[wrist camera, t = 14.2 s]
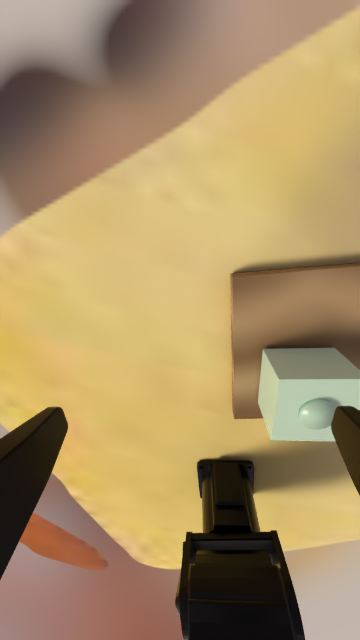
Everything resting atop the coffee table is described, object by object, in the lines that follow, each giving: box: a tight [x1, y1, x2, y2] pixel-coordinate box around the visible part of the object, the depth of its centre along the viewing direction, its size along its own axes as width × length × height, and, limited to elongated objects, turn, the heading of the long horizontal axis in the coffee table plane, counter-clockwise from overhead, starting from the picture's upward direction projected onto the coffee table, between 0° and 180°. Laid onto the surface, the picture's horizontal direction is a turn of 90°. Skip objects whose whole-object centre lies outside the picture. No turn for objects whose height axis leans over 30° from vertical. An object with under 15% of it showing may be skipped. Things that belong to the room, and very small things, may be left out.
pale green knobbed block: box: [258, 348, 360, 441], centre depth 17 cm, size 6×6×4 cm
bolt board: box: [231, 263, 360, 419], centre depth 18 cm, size 14×18×4 cm
